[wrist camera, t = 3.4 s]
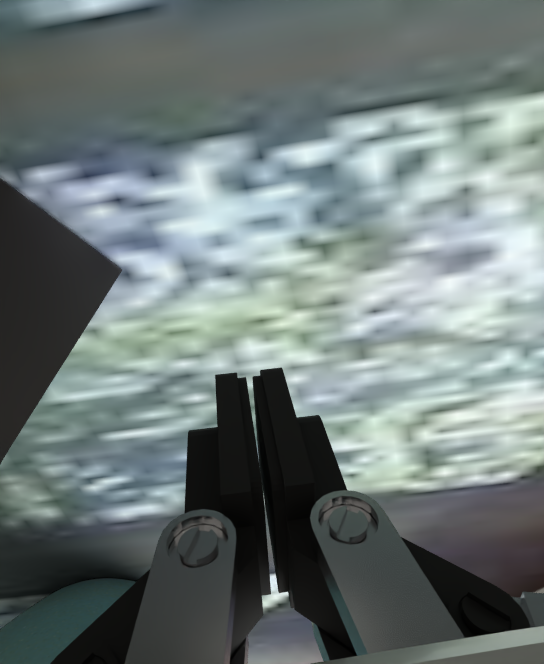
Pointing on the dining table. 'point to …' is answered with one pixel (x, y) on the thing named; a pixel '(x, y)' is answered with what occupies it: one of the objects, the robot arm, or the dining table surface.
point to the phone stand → (40, 303)
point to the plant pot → (57, 620)
